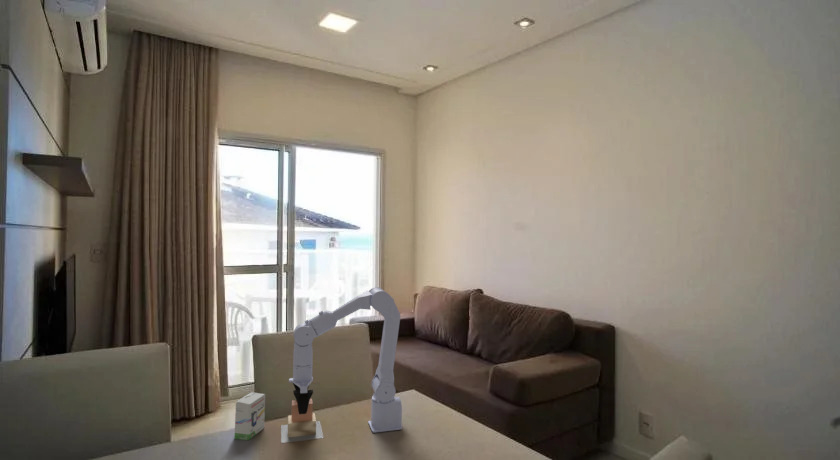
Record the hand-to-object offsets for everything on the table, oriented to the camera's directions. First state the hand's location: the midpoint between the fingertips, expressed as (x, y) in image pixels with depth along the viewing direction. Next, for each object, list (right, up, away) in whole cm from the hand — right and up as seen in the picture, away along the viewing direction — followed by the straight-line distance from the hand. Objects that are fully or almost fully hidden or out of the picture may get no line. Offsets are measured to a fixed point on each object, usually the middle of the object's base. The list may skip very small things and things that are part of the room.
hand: (302, 408), depth 136 cm
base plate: (0, -8, 0) cm, 8 cm away
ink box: (-15, -8, -2) cm, 17 cm away
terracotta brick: (0, -3, 0) cm, 3 cm away
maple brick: (0, -7, 0) cm, 7 cm away
